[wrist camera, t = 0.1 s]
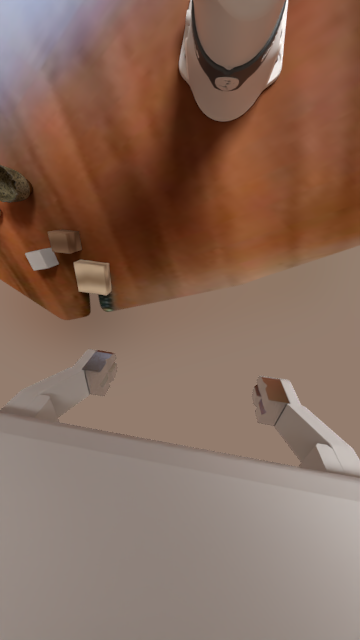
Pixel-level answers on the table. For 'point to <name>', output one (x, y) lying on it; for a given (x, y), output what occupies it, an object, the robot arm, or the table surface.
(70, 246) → the walnut block
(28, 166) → the table surface
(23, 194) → the cup
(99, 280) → the beech pedestal block
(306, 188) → the table surface
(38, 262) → the grey painted cube
